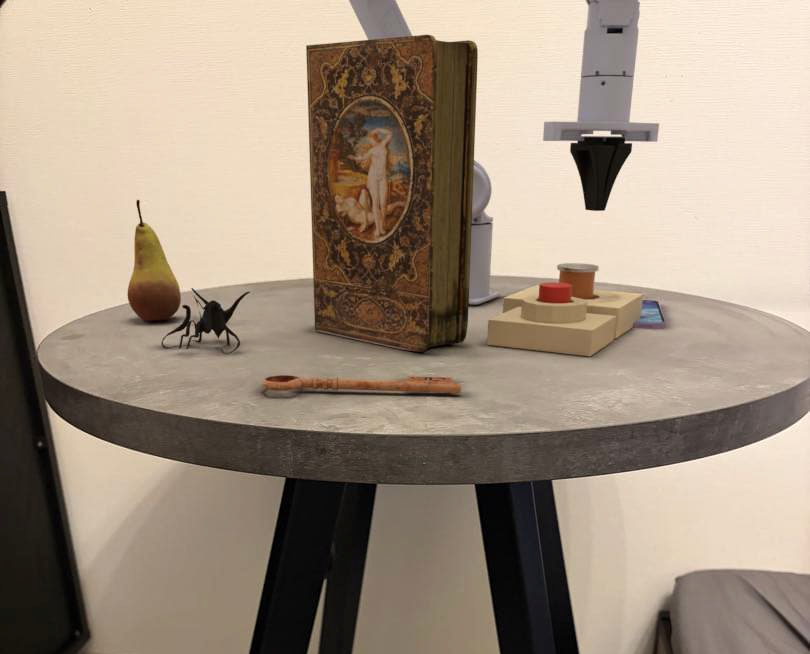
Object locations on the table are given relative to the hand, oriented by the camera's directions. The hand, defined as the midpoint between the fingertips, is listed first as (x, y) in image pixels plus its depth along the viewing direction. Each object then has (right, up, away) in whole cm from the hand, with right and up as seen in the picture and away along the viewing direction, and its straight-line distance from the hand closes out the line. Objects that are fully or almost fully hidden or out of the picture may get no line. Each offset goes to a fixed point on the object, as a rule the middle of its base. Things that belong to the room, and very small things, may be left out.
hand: (595, 210), depth 101 cm
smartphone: (+3, -14, -3) cm, 14 cm away
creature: (-40, -21, -21) cm, 50 cm away
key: (-25, -27, -34) cm, 50 cm away
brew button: (-8, -16, -19) cm, 26 cm away
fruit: (-48, -15, -9) cm, 51 cm away
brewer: (-4, -16, -9) cm, 19 cm away
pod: (-4, -16, -9) cm, 19 cm away
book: (-24, -19, -16) cm, 35 cm away
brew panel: (-8, -19, -18) cm, 27 cm away
